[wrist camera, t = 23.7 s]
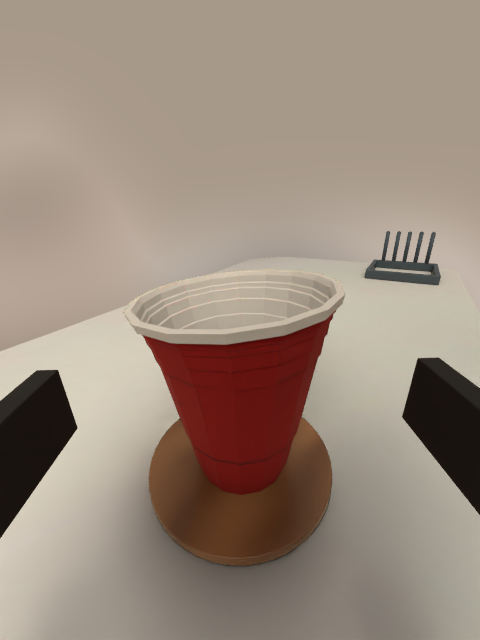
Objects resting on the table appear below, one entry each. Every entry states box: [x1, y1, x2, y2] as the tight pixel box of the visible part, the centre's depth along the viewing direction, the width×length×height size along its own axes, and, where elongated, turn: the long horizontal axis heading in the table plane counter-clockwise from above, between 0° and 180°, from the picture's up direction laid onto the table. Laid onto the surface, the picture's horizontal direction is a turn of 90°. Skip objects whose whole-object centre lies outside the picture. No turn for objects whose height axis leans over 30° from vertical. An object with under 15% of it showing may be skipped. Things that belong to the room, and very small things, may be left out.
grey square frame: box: [365, 231, 441, 285], centre depth 63 cm, size 14×14×9 cm
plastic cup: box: [123, 269, 345, 495], centre depth 16 cm, size 11×11×12 cm
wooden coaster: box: [149, 417, 332, 566], centre depth 19 cm, size 12×12×1 cm
